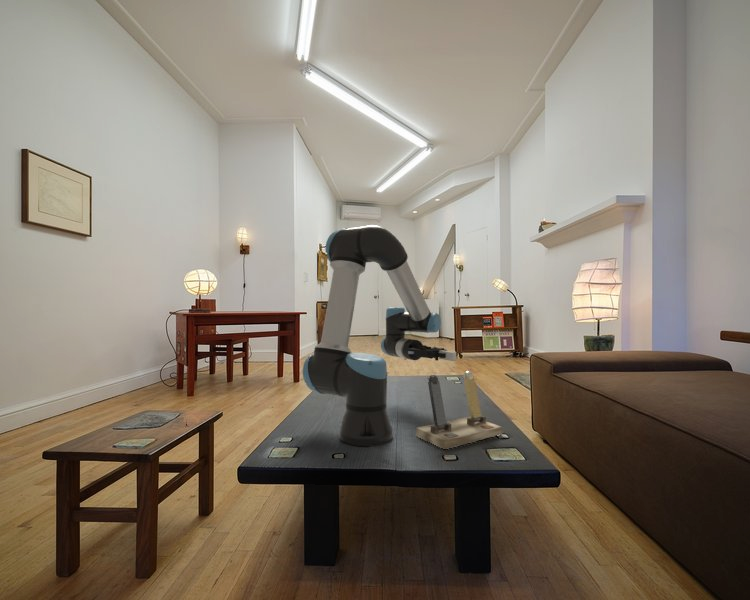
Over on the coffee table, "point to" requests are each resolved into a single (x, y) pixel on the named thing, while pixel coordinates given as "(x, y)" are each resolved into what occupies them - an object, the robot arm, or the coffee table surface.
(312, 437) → the coffee table surface
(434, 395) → the lever slate
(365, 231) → the robot arm
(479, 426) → the console
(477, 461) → the coffee table surface
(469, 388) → the lever brass
